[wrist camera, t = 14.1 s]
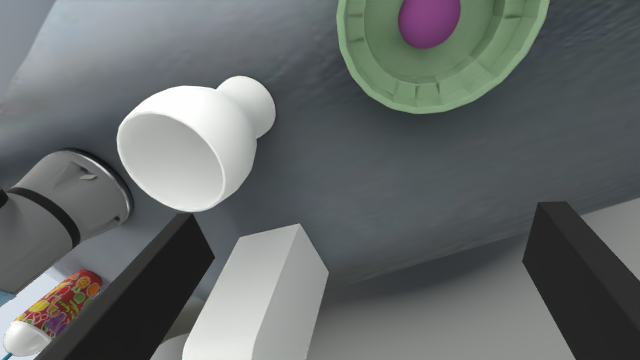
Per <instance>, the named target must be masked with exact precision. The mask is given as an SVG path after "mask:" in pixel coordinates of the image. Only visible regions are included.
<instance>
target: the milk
mask: <svg viewBox="0 0 640 360" xmlns="http://www.w3.org/2000/svg"><path fill="white" fill-rule="evenodd" d="M328 274H329V271H328V270H327V268H326V266H325V265H324V263H323V261H322V260H321V258H320V256H319V255H318V253H317V251H316V250H315V248H314V246H313V245H312V243H311V241H310V240H309V238H308V236H307V234H306V233H305V231H304V229H303V228H302V226H301V224H300V223H299V224H294V225H290V226H286V227H281V228H277V229H273V230H269V231H264V232H260V233H256V234H251V235H247V236H243V237H240V238H239V240H238V241H237V243H236V245H235V247H234V249H233V251H232V253H231V255H230V257H229V259H228V261H227V263H226V265H225V267H224V269H223V271H222V273H221V274H220V276H219V278H218V280H217V282H216V284H215V286H214V288H213V290H212V292H211V294H210V296H209V298H208V300H207V302H206V304H205V306H204V307H203V309H202V311H201V313H200V315H199V317H198V319H197V321H196V323H195V325H194V327H193V329H192V331H191V333H190V335H189V337H188V339H187V341H186V343H185V346H184V349H183V355H182V360H306V356H307V352H308V349H309V345H310V341H311V338H312V334H313V330H314V326H315V322H316V318H317V315H318V311H319V307H320V304H321V300H322V296H323V293H324V289H325V285H326V281H327V278H328Z"/></svg>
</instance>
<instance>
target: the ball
mask: <svg viewBox="0 0 640 360" xmlns="http://www.w3.org/2000/svg"><path fill="white" fill-rule="evenodd" d="M460 13H461V4H460V0H404V1H403V3H402V5H401V8H400V11H399V16H398V27H399V31H400V33H401V35H402V37H403V39H404V40H405V41H406V42H407V43H408V44H409V45H411V46H413V47H415V48H419V49H428V48H432V47H435V46H437V45H439V44H441V43H443V42H444V41H445V40H447V39H448V38H449V37H450V35H451V34H452V33H453V31H454V30H455V28H456V26H457V24H458V22H459V18H460Z"/></svg>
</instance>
